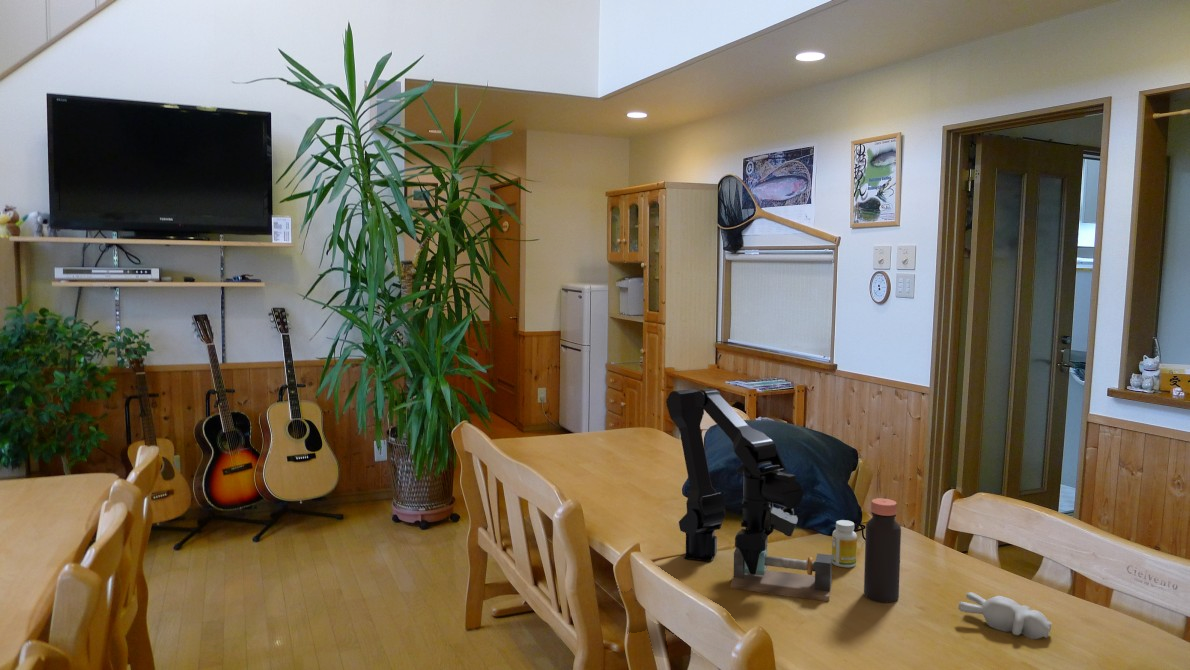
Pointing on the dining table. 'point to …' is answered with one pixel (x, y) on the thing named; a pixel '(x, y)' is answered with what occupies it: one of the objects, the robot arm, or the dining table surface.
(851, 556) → the supplement bottle
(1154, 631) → the dining table surface
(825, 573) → the rod stand
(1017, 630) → the bunny figurine
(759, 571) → the sleeve
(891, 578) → the water bottle
